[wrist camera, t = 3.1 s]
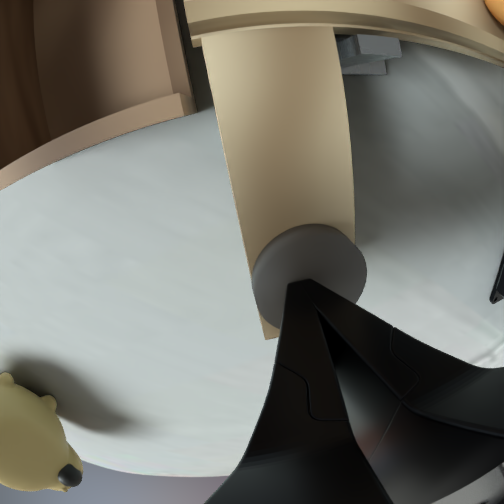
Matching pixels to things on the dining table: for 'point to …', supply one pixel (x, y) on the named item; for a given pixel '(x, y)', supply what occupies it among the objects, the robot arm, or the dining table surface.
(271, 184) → the lever
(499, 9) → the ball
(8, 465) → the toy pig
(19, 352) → the dining table surface
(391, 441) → the robot arm
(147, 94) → the tray
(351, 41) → the fulcrum
